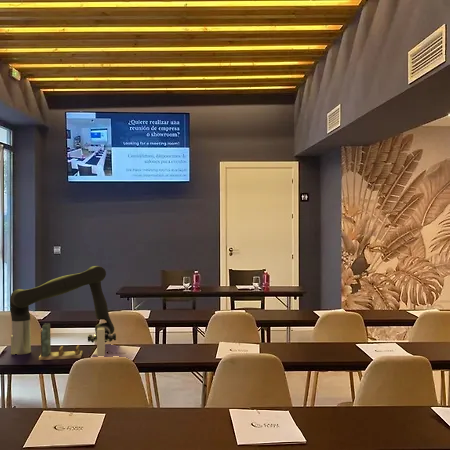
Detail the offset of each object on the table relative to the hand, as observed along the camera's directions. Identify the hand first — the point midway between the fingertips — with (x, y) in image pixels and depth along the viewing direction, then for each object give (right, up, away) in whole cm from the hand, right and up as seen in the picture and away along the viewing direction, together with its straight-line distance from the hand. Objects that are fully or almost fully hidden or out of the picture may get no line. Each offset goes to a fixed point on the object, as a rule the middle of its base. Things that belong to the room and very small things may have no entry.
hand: (101, 340), depth 283 cm
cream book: (0, -8, -2) cm, 8 cm away
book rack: (-20, -8, -2) cm, 22 cm away
